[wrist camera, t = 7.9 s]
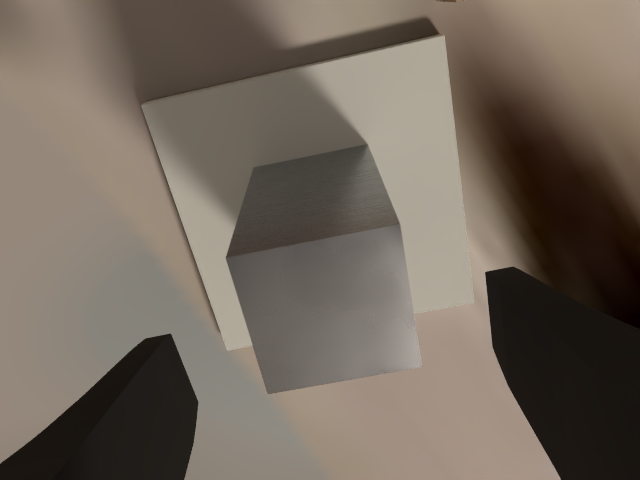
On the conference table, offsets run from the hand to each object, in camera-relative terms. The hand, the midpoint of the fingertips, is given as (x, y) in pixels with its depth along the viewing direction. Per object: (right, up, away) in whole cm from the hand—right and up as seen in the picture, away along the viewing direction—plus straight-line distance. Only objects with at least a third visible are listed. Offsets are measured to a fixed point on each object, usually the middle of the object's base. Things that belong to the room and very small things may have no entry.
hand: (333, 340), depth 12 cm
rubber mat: (0, +4, +8) cm, 9 cm away
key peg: (0, +3, +7) cm, 8 cm away
